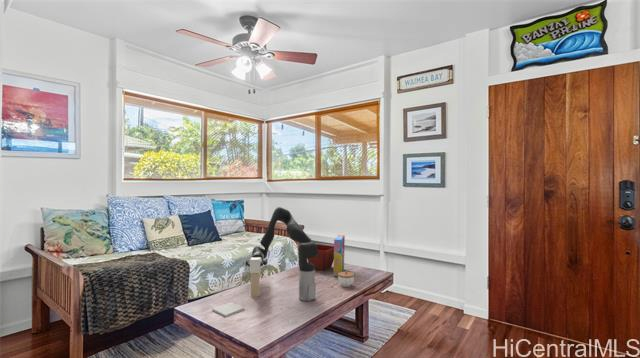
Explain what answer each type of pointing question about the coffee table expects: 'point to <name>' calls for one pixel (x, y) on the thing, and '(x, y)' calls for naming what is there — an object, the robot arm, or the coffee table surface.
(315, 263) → the plant pot
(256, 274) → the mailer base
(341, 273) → the lidded jar
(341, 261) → the game box
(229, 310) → the grey mat
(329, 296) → the coffee table surface
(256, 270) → the white rectangular block
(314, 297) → the robot arm
